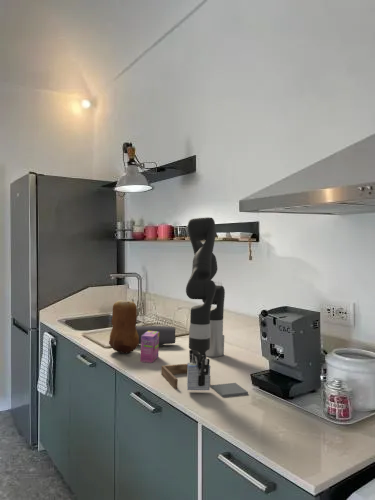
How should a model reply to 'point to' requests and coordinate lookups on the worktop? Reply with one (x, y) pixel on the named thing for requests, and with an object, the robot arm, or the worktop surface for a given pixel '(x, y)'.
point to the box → (149, 346)
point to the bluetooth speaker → (164, 333)
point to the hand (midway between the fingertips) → (198, 382)
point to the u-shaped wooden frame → (169, 370)
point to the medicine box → (196, 378)
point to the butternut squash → (124, 327)
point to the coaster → (229, 389)
